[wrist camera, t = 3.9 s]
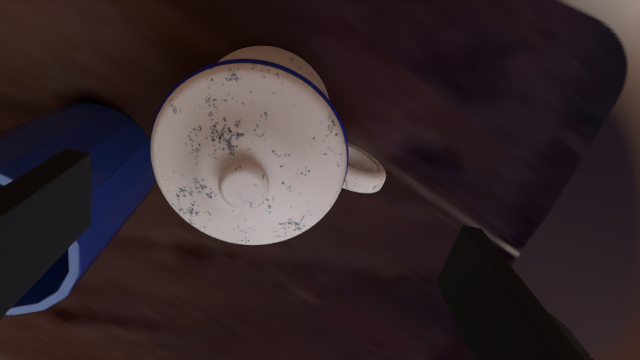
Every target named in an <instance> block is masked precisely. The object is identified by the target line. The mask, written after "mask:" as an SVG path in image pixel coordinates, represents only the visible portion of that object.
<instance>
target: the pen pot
mask: <svg viewBox="0 0 640 360" xmlns="http://www.w3.org/2000/svg"><path fill="white" fill-rule="evenodd" d="M66 148H67V149H72V150H77V151H82V152H87V153H91V218H92V224H91V225H90V226H89V228H88V229H87V230H86V231H85V232H84V233H83V234H82V235H81V236H80V237H79V238H78V239H77V240H76V241H75V242H74V243H73V244H72V245H71V246H70V247H69V248H68V249H67V250H66V251H65V252H64V253H63V255H62V256H61V257H60V258H59V259H58V260H57V261H56V262H55V263H54V264H53V265H52V266H51V267H50V268H49V269H48V270H47V271H46V272H45V273H44V274H43V275H42V276H41V277H40V278H39V279H38V280H37V282H36V283H35V284H34V285H33V286H32V287H31V288H30V289H29V290H28V291H27V292H26V293H25V294H24V295H23V296H22V297H21V298H20V299H19V300H18V301H17V302H16V303H15V304H14V305H13V306H12V308H11V309H10V310H9V311H8V312H7V313H6V314H5V315H18V314H25V313H31V312H37V311H43V310H45V309H47V308H49V307H50V306H52V305H54V304H55V303H57V302H59V301H60V300H62V299H64V298H65V297H67V296H68V295H69V294H70V293H71V291H72V290H73V289H74V287H75V286H76V285H77V284H78V282H79V281H80V280H81V279H82V277H83V276H84V275H85V274H86V272H87V271H88V270H89V269H90V267H91V266H92V265H93V264H94V262H95V261H96V260H97V258H98V257H99V256H100V255H101V253H102V252H103V251H104V250H105V248H106V247H107V246H108V245H109V243H110V242H111V241H112V240H113V238H114V237H115V236H116V235H117V233H118V232H119V231H120V229H121V228H122V227H123V226H124V224H125V223H126V222H127V221H128V219H129V218H130V217H131V216H132V214H133V213H134V212H135V211H136V209H137V208H138V207H139V205H140V204H141V203H142V202H143V200H144V199H145V198H146V196H147V194H148V193H149V191H150V190H151V189H152V187H153V185H154V183H155V180H156V178H155V174H154V171H153V167H152V162H151V141H150V140H149V138H148V136H147V135H146V134H145V132H144V131H143V130H142V129H141V128H140V127H139V126H138V125H137V124H136V123H135V122H134V121H133V120H132V119H130V118H129V117H127V116H126V115H124V114H123V113H121V112H119V111H117V110H115V109H112V108H110V107H107V106H104V105H100V104H94V103H76V104H71V105H67V106H64V107H60V108H57V109H54V110H52V111H50V112H47V113H45V114H43V115H40V116H38V117H36V118H33V119H31V120H29V121H26V122H24V123H22V124H19V125H17V126H15V127H12V128H10V129H8V130H5V131H3V132H1V133H0V188H1V187H3V186H5V185H6V184H8V183H9V182H11V181H13V180H14V179H16V178H18V177H19V176H21V175H23V174H24V173H26V172H28V171H29V170H31V169H33V168H34V167H36V166H38V165H39V164H41V163H42V162H44V161H46V160H47V159H49V158H51V157H52V156H54V155H56V154H57V153H59V152H61V151H62V150H64V149H66Z"/></svg>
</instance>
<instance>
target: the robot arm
mask: <svg viewBox="0 0 640 360" xmlns="http://www.w3.org/2000/svg"><path fill="white" fill-rule="evenodd" d="M91 224H92V218H91V153H87V152H82V151H77V150H72V149H67V148H66V149H64V150H62V151H61V152H59V153H57V154H56V155H54V156H52V157H51V158H49V159H47V160H46V161H44V162H42V163H41V164H39V165H38V166H36V167H34V168H33V169H31V170H29V171H28V172H26V173H24V174H23V175H21V176H19V177H18V178H16V179H14V180H13V181H11V182H9V183H8V184H6V185H5V186H3V187H1V188H0V319H1V318H2V317H3V316H4V315H5V314H6V313H7V312H8V311H9V310H10V309H11V308H12V306H13V305H14V304H15V303H16V302H17V301H18V300H19V299H20V298H21V297H22V296H23V295H24V294H25V293H26V292H27V291H28V290H29V289H30V288H31V287H32V286H33V285H34V284H35V283H36V282H37V280H38V279H39V278H40V277H41V276H42V275H43V274H44V273H45V272H46V271H47V270H48V269H49V268H50V267H51V266H52V265H53V264H54V263H55V262H56V261H57V260H58V259H59V258H60V257H61V256H62V255H63V253H64V252H65V251H66V250H67V249H68V248H69V247H70V246H71V245H72V244H73V243H74V242H75V241H76V240H77V239H78V238H79V237H80V236H81V235H82V234H83V233H84V232H85V231H86V230H87V229H88V228H89V226H90V225H91ZM436 283H437V286H438V288H439V290H440V292H441V294H442V296H443V298H444V300H445V302H446V304H447V306H448V309H449V311H450V313H451V315H452V317H453V319H454V321H455V323H456V325H457V327H458V329H459V332H460V334H461V336H462V338H463V340H464V342H465V344H466V346H467V348H468V350H469V352H470V355H471V357H472V359H473V360H594V359H593V358H590V354H589V353H588V352H587V350H586V349H585V348H584V347H583V346H581V345H580V342H579V341H578V339H577V338H576V337H575V336H574V335H573V333H572V332H571V331H570V330H569V329H568V327H566V326H565V325H564V324H563V323H562V322H560V321H559V320H558V319H557V318H556V317H555V316H553V315H552V314H551V313H548V312H547V311H546V309H545V308H544V307H543V306H542V304H541V303H540V302H539V301H538V300H537V298H536V297H535V296H534V294H533V293H532V292H531V291H530V289H529V288H528V287H527V286H526V284H525V283H524V282H523V281H522V279H521V278H520V277H519V275H518V274H517V273H516V272H515V270H514V269H513V268H512V267H511V265H510V264H509V263H508V262H507V260H506V259H505V258H504V257H503V255H502V254H501V253H500V252H499V250H498V249H497V248H496V247H495V245H494V244H493V243H492V242H491V240H490V239H489V238H488V236H487V235H486V234H485V233H484V231H483V230H482V229H480V228H475V227H469V226H464V225H462V227H461V230H460V232H459V234H458V236H457V238H456V241H455V243H454V245H453V247H452V249H451V252H450V254H449V256H448V258H447V260H446V263H445V265H444V267H443V269H442V271H441V274H440V276H439V278H438V280H437V282H436Z"/></svg>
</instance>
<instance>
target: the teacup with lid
mask: <svg viewBox="0 0 640 360" xmlns="http://www.w3.org/2000/svg"><path fill="white" fill-rule="evenodd" d="M151 162H152V167H153V171H154V174H155V178H156V180H157V183H158V185H159V187H160V189H161V191H162V193H163V195H164V196H165V198H166V199H167V201H168V202H169V203H170V205H171V206H172V207H173V208H174V210H175V211H176V212H177V213H178V214H179V215H180V216H181V217H182V218H184V219H185V220H186V221H187V222H188V223H190V224H191V225H192V226H194V227H195V228H197V229H199V230H200V231H202V232H204V233H206V234H208V235H210V236H212V237H215V238H217V239H220V240H224V241H227V242H232V243H237V244H245V245H262V244H270V243H275V242H279V241H283V240H286V239H289V238H292V237H294V236H296V235H298V234H300V233H302V232H304V231H305V230H307V229H309V228H310V227H312V226H313V225H314V224H316V223H317V222H318V221H319V220H320V219H321V218H322V217H323V216H324V215H325V214H326V213H327V212H328V211H329V209H330V208H331V207H332V205H333V204H334V202H335V200H336V199H337V197H338V196H339V194H340V191H341V189H342V188H344V189H347V190H351V191H355V192H360V193H373V192H376V191H378V190H380V188H381V187H382V185H383V183H384V181H385V178H386V173H385V170H384V168H383V167H382V165H381V164H380V163H379V162H378V161H377V160H376V159H375V158H373V157H372V156H371V155H369V154H368V153H366V152H365V151H363V150H362V149H360V148H358V147H356V146H354V145H352V144H349V143H348V142H347V136H346V133H345V129H344V126H343V124H342V121H341V119H340V117H339V115H338V113H337V111H336V109H335V108H334V106H333V105H332V103H331V101H330V100H329V97H328V94H327V91H326V88H325V86H324V84H323V82H322V80H321V79H320V77H319V76H318V74H317V73H316V72H315V71H314V69H313V68H312V67H311V66H310V65H309V64H308V63H306V62H305V61H304V60H303V59H301V58H300V57H298V56H297V55H295V54H293V53H291V52H289V51H286V50H283V49H280V48H276V47H271V46H251V47H246V48H242V49H239V50H237V51H234V52H232V53H230V54H229V55H227V56H225V57H224V58H222V59H221V60H220V61H218V62H216V63H213V64H210V65H207V66H205V67H202V68H200V69H198V70H196V71H195V72H193V73H191V74H189V75H188V76H187V77H185V78H184V79H183V80H181V81H180V82H179V83H178V84H177V85H176V86H175V87H174V88H173V89H172V90H171V91H170V93H169V94H168V95H167V96H166V98H165V99H164V101H163V102H162V104H161V106H160V108H159V110H158V112H157V115H156V117H155V120H154V124H153V128H152V133H151ZM348 165H350V166H348ZM351 166H352V167H351Z"/></svg>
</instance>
